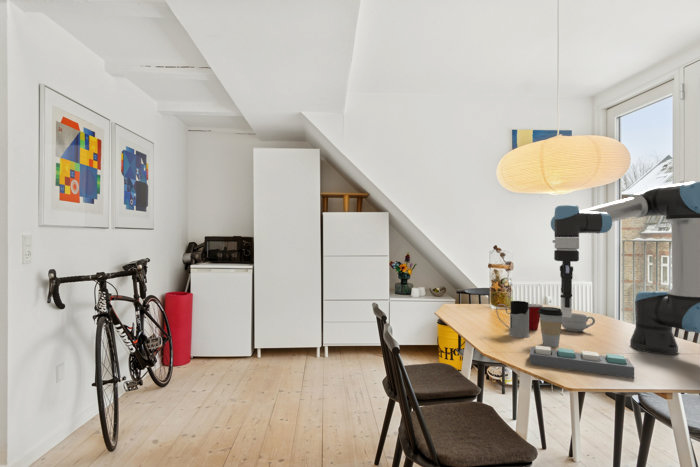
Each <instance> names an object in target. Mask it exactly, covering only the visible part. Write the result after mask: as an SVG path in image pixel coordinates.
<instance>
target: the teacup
mask: <svg viewBox="0 0 700 467" xmlns="http://www.w3.org/2000/svg"><path fill="white" fill-rule="evenodd" d="M589 319H591V320H592V322H591V323H589V324H587V322H588V320H589ZM595 323H596V320H595V317H593V316H587V315H586V314H583V313H582V314H581V313H574V312H572V318H571V317H562V325H561V327H563V328H564V329H565V331H568V332H573V333H574V332H575V333H580V332H581V333H582V332H583V331H584V330H586V329H588V328H590V327H592V326H593V325H595Z"/></svg>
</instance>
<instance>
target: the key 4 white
mask: <svg viewBox="0 0 700 467" xmlns="http://www.w3.org/2000/svg"><path fill="white" fill-rule="evenodd" d="M535 348H536V353H537V354H546V355H551V350H552V347H549V346H545V345H537V344H536V345H535Z"/></svg>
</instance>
